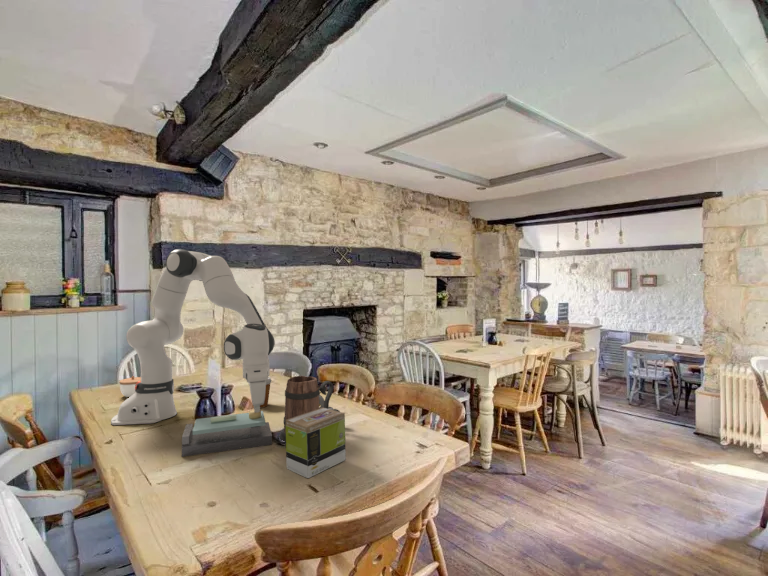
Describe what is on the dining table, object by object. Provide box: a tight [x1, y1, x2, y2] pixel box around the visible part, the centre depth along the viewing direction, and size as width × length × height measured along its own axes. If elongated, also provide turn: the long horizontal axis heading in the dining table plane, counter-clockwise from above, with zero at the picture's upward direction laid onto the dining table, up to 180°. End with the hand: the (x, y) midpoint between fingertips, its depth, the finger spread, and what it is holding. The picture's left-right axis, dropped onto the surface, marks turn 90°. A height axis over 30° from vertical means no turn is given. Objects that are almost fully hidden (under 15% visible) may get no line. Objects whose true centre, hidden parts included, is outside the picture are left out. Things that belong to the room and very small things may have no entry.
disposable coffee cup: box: [252, 376, 272, 409], centre depth 176 cm, size 10×10×12 cm
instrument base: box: [181, 421, 273, 457], centre depth 135 cm, size 27×14×6 cm, turn 110°
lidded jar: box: [118, 375, 141, 398], centre depth 191 cm, size 11×11×9 cm
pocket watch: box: [319, 391, 334, 410], centre depth 168 cm, size 8×8×10 cm
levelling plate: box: [193, 409, 266, 435], centre depth 135 cm, size 22×12×3 cm, turn 110°
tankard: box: [278, 375, 341, 442], centre depth 144 cm, size 24×17×20 cm
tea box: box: [285, 407, 347, 479], centre depth 119 cm, size 15×10×15 cm, turn 141°
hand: (256, 411), depth 138 cm, fingers closed, pressing on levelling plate
